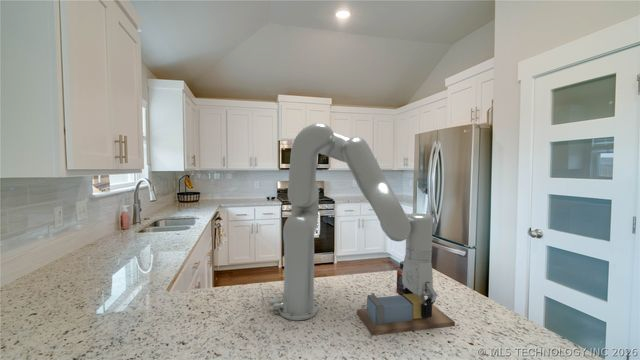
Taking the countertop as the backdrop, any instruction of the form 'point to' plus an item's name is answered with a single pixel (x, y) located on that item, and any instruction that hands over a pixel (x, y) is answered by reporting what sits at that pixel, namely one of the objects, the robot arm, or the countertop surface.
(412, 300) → the yellow block
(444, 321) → the board
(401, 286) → the supplement bottle
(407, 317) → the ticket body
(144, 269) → the countertop surface
